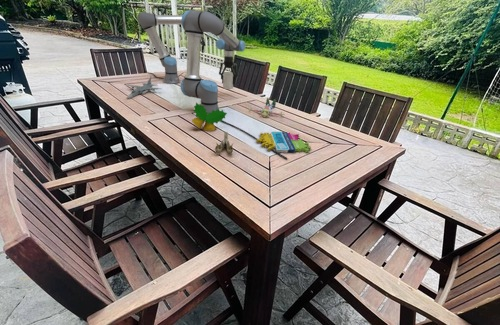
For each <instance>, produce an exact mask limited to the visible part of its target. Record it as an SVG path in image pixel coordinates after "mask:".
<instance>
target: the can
mask: <svg viewBox="0 0 500 325" xmlns="http://www.w3.org/2000/svg"><path fill="white" fill-rule="evenodd" d="M233 76H234V75H233V73H232V71H224V73H223V83H222V88H223V89H224V90H233V89H234V85H233Z"/></svg>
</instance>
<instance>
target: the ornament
mask: <svg viewBox="0 0 500 325" xmlns="http://www.w3.org/2000/svg"><path fill="white" fill-rule="evenodd" d="M219 110H220V108H219V109H217V110H216V111H214V110H212V112H211V113H208V112H206V109H204V106H201V103H198V102H195V105H194V106H193V112H194V113H195V118H192V119H191V122H192V123H193V125H195V127H197V128H198V129H202V130H203V131H206V132H212V131H213V132H214V131H215V130H216V126H215V124H218V123H219V122H222V121H223V119H226V115H227V114H228V113H227V112H224V110H223V109H221V110H220V111H219ZM207 113H208V115H207ZM214 123H215V124H214ZM222 123H223V122H222Z"/></svg>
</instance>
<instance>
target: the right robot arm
mask: <svg viewBox="0 0 500 325" xmlns="http://www.w3.org/2000/svg"><path fill="white" fill-rule="evenodd" d="M182 15H183V16H182V20H181V23H182V24H181V27H182V29H183V30H184V33H185V35H186V36H187V38H186V39H187V40H186V41H187V42H186V49H187V50H186V74H185V75H184V77H183V78H182V80H181V81H180V91H181V93H182V94H183V95H184V96H186V97H189V98H194V99H200V104H201V106H204V109H206V112H208V113H211V112H212V110H214V111H216V110H217V109H219V111H221V110H220V108H219V102H218V99H219V98H218V97H219V87H218V84H217V82H216V81H214V80H211V79H202V77H201V76H200V68H201V67H200V66H201V65H200V64H201V41H202V40H201V37H202V36H203V37H204V33H210V34H213V35H214V36H218V38H217V40H216V42H215V46H216V48H217V49H218V50H219V51H223V50H224V51H223V52H224V53H223V54H224V56H223V61H222V62H220V63H219V64H220V67H219V71H218V75H219V76H220V80H221V84H223V73H224V72H226V69H230V70H231V72H232V73H233V75H234V76H233V86H234V85H235V81H236V77H238V76H239V74H238V67H237V66H238V64H237V63H234V51H235V52H244V51H245V50H246V42H245V41H244V40H240V39H239V38H237V37H236V35H234V33H232V32H231V30H229V28H228V27H226V26H225V23H224V21H223V20H222V19H221V18H219V17H218V16H216V15H215V14H214V13H212V12H210V11H206V10H194V9H191V10H185V11H184V13H183V14H182ZM223 66H224V67H223ZM233 67H234V68H233ZM208 113H207V115H208ZM222 123H224V124H227V125H228V126H231V127H233V128H235V129H236V130H239V131H241V132H243V133H245V134H247V135H248V136H249V137H251V138H253V139H254V140H256V141H257V139H258V138H257V137H256V136H254V135H252V134H251V133H249V132H247V131H246V130H244V129H242V128H239V127H238V126H237V125H236V126H235V125H234V124H231V123H229V122H226V121H224V120H222ZM262 143H263V142H261V143H260V144H262ZM268 147H269V146H268ZM270 151H272V152H274V153H275V154H277V155H279V156H280V157H281V158H283V159H285V160H288V157H287V156H285V155H283V154H281V153H280V152H276V149H275V150H274V149H271V150H270Z"/></svg>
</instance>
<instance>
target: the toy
mask: <svg viewBox="0 0 500 325" xmlns="http://www.w3.org/2000/svg"><path fill="white" fill-rule="evenodd" d="M276 105H277V100H276V98H274V99H273V101H272V103H270V99H269V97H267V98H266V101H265V106H263V108H262V109H253V108H252V107H250V108H247V110H248V112H255V113H256V112H257V113H260V114H259V116H261V117H263V118H269V116H270V115H269V114H271V115H274V116H275V115H277V116H278V115H279V116H280V117H284V116H285V113H284V112H283V111H281V112H276V111H272V110H273V109H272V108H275V107H276Z"/></svg>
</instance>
